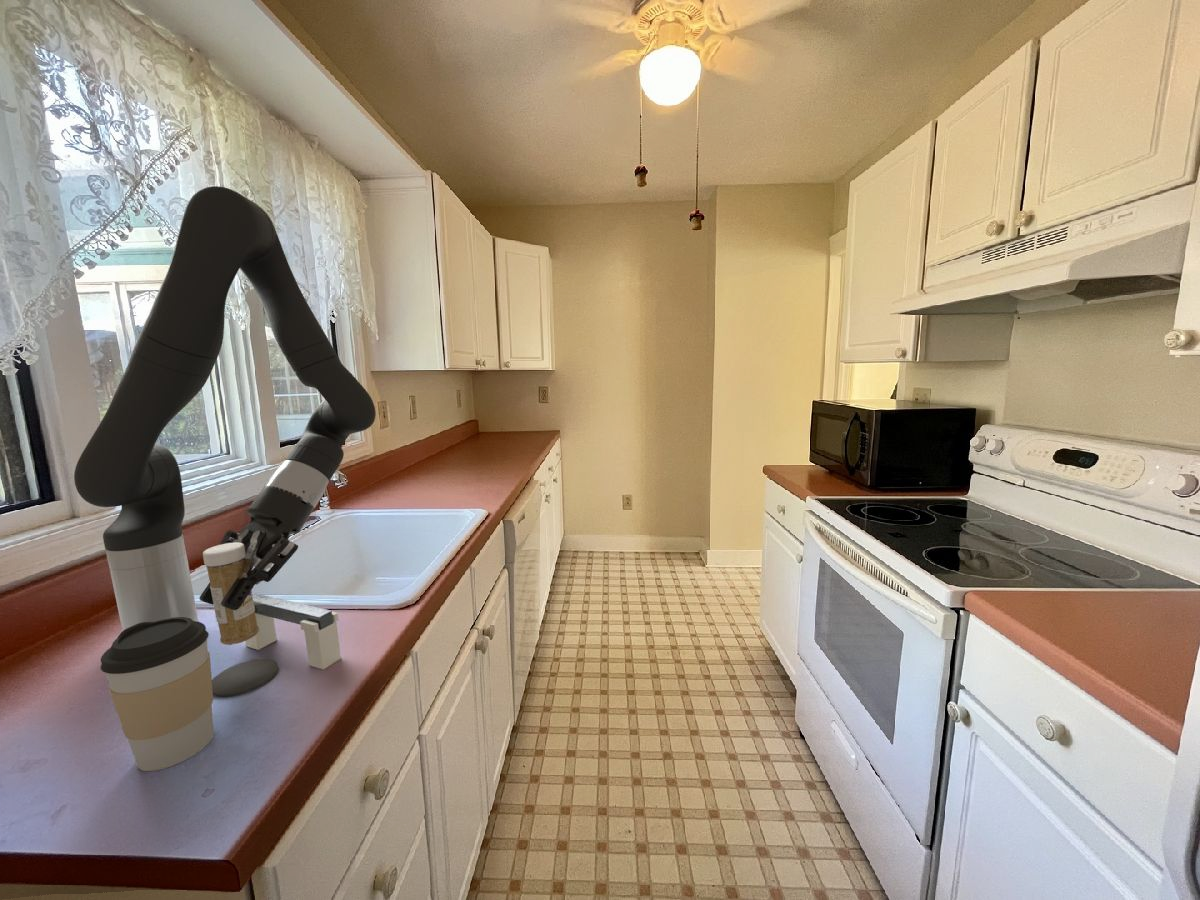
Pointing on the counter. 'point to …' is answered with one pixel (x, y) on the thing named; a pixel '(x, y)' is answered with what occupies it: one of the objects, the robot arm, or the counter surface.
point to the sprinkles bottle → (222, 575)
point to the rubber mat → (244, 677)
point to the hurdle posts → (318, 642)
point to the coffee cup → (162, 690)
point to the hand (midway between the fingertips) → (217, 604)
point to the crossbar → (291, 611)
